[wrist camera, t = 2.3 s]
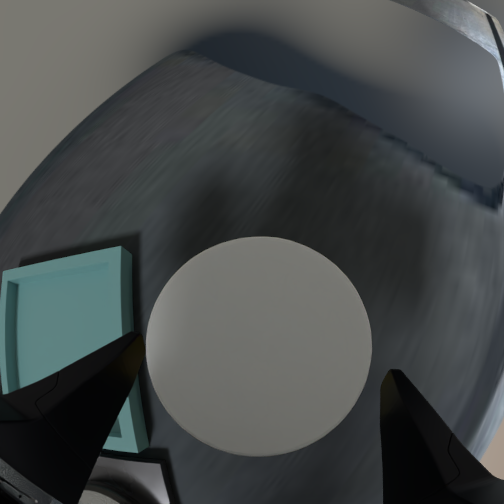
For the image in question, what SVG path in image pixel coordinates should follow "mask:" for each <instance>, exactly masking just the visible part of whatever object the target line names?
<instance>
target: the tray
mask: <svg viewBox="0 0 504 504" xmlns="http://www.w3.org/2000/svg"><path fill="white" fill-rule="evenodd" d="M130 331H134V319H133V295H132V254H131V253H129V252H128V251H127V250H126V249H124V248H123V247H122V246H118V247H113V248H108V249H103V250H98V251H93V252H88V253H83V254H78V255H74V256H69V257H64V258H60V259H55V260H50V261H46V262H41V263H37V264H33V265H28V266H24V267H19V268H15V269H11V270H7V271H3V277H2V287H1V300H0V368H1V381H2V390H3V394H7V393H10V392H12V391H15V390H17V389H20V388H22V387H25V386H27V385H30V384H32V383H34V382H37V381H39V380H41V379H43V378H45V377H47V376H49V375H51V374H53V373H55V372H57V371H60V369H62V368H64V367H66V366H68V365H70V364H72V363H73V362H75V361H77V360H79V359H81V358H83V357H84V356H86V355H88V354H90V353H92V352H94V351H95V350H97V349H99V348H101V347H103V346H105V345H106V344H108V343H110V342H112V341H114V340H116V339H117V338H119V337H121V336H123V335H125V334H126V333H128V332H130ZM147 447H149V442H148V437H147V432H146V426H145V420H144V414H143V408H142V401H141V394H140V386H139V378H138V374H137V377H136V379H135V382H134V385H133V387H132V389H131V391H130V393H129V395H128V397H127V399H126V401H125V403H124V405H123V407H122V409H121V411H120V413H119V415H118V417H117V419H116V422H115V424H114V426H113V428H112V430H111V432H110V434H109V436H108V438H107V440H106V442H105V445H104V447H103V449H109V450H117V451H124V452H133V453H139V452H141V451H142V450H144V449H146V448H147Z"/></svg>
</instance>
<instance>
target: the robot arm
mask: <svg viewBox="0 0 504 504" xmlns="http://www.w3.org/2000/svg"><path fill="white" fill-rule="evenodd" d="M144 355H145V345H144V341H143V337H142V335H141V334H140V333H138V332H134V331H130V332H128V333H126V334H125V335H123V336H121V337H119V338H117V339H116V340H114V341H112V342H110V343H108V344H106V345H105V346H103V347H101V348H99V349H97V350H95V351H94V352H92V353H90V354H88V355H86V356H84V357H83V358H81V359H79V360H77V361H75V362H73V363H72V364H70V365H68V366H66V367H64V368H62V369H60V371H57V372H55V373H53V374H51V375H49V376H47V377H45V378H43V379H41V380H39V381H37V382H34V383H32V384H30V385H27V386H25V387H22V388H20V389H17V390H15V391H12V392H10V393H7V394H2V395H0V504H51V503H52V501H53V499H54V498H55V499H56V500H58V501H60V502H61V503H63V504H78V503H79V500H80V498H81V496H82V493H83V491H84V489H85V487H86V484H87V482H88V480H89V478H90V475H91V473H92V470H93V468H94V466H95V464H96V462H97V460H98V457H99V455H100V453H101V451H102V449H103V447H104V445H105V442H106V440H107V438H108V436H109V434H110V432H111V430H112V428H113V426H114V424H115V422H116V419H117V417H118V415H119V413H120V411H121V409H122V407H123V405H124V403H125V401H126V399H127V397H128V395H129V393H130V391H131V389H132V387H133V385H134V382H135V379H136V377H137V374H138V371H139V369H140V366H141V363H142V361H143V358H144ZM380 433H381V447H382V466H383V504H504V480H501V479H499V478H497V477H495V476H493V475H492V474H491V473H490V472H489V471H488V470H487V469H486V468H485V467H484V466H483V465H482V464H481V463H480V462H479V461H478V460H477V459H476V458H475V457H474V456H473V455H472V454H471V453H470V452H469V451H468V450H467V449H466V448H465V446H464V445H463V444H462V443H461V442H460V440H459V439H458V438H457V437H456V436H455V434H454V433H452V431H451V429H450V428H449V427H448V426H447V424H446V423H445V422H444V421H443V420H442V418H441V417H440V416H439V415H438V413H437V412H436V411H435V410H434V409H433V407H432V406H431V405H430V404H429V403H428V401H427V400H426V399H425V398H424V397H423V395H422V394H421V393H420V392H419V391H418V389H417V388H416V387H415V386H414V385H413V384H412V382H411V381H410V380H409V379H408V378H407V377H406V375H405V374H404V373H403V372H402V371H401V370H399V369H390V370H389V371H388V373H387V375H386V376H385V378H384V380H383V382H382V384H381V389H380Z"/></svg>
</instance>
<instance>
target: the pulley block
mask: <svg viewBox="0 0 504 504" xmlns="http://www.w3.org/2000/svg"><path fill="white" fill-rule="evenodd" d="M78 504H176V502H175V499H174V495H173V491H172V487H171V483H170V479H169V475H168V470H167V466H166V461H165V460H163V459H149V458H138V457H129V456H121V455H114V454H107V453H100V455H99V457H98V460H97V462H96V464H95V466H94V468H93V470H92V473H91V475H90V478H89V480H88V482H87V484H86V487H85V489H84V491H83V493H82V496H81V498H80V500H79V503H78Z"/></svg>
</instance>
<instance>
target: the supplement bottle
mask: <svg viewBox="0 0 504 504" xmlns="http://www.w3.org/2000/svg"><path fill="white" fill-rule="evenodd" d="M371 356H372V340H371V329H370V323H369V319H368V316H367V312H366V310H365V307H364V305H363V302H362V300H361V298H360V296H359V294H358V292H357V290H356V289H355V287H354V286H353V284H352V283H351V282H350V280H349V279H348V278H347V276H346V275H345V274H344V273H343V272H342V271H341V270H340V269H339V268H338V267H337V266H336V265H335V264H334V263H332V262H331V261H330V260H328V259H327V258H326V257H325V256H323V255H321V254H320V253H318V252H316V251H314V250H313V249H311V248H309V247H307V246H304V245H302V244H299V243H296V242H294V241H291V240H286V239H282V238H276V237H246V238H239V239H235V240H231V241H227V242H223V243H220V244H218V245H216V246H213V247H211V248H209V249H206V250H204V251H203V252H201V253H199V254H198V255H196V256H195V257H193V258H192V259H190V260H189V261H188V262H187V263H185V264H184V265H183V266H182V267H181V268H180V269H179V270H178V271H177V272H176V273H175V274H174V275H173V276H172V277H171V278H170V280H169V281H168V282H167V284H166V285H165V287H164V288H163V290H162V291H161V293H160V295H159V297H158V299H157V301H156V303H155V305H154V308H153V310H152V313H151V316H150V320H149V323H148V329H147V336H146V357H147V365H148V371H149V374H150V378H151V380H152V384H153V387H154V389H155V392H156V394H157V396H158V398H159V399H160V401H161V403H162V405H163V406H164V408H165V409H166V410H167V412H168V413H169V414H170V416H171V417H172V418H173V419H174V420H175V421H176V422H177V423H178V424H179V425H180V426H181V427H182V428H183V429H184V430H185V431H187V432H188V433H189V434H191V435H192V436H193V437H195V438H196V439H198V440H199V441H201V442H203V443H205V444H207V445H209V446H211V447H213V448H216V449H219V450H221V451H224V452H228V453H231V454H235V455H241V456H253V457H262V456H274V455H281V454H285V453H289V452H293V451H296V450H299V449H301V448H304V447H306V446H308V445H310V444H312V443H314V442H316V441H317V440H319V439H321V438H322V437H324V436H325V435H326V434H328V433H329V432H330V431H331V430H333V429H334V428H335V427H336V426H337V425H338V424H339V423H340V422H341V421H342V420H343V419H344V418H345V417H346V416H347V414H348V413H349V412H350V411H351V409H352V408H353V406H354V405H355V403H356V401H357V400H358V398H359V396H360V394H361V392H362V390H363V388H364V385H365V383H366V380H367V376H368V372H369V367H370V362H371Z"/></svg>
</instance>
